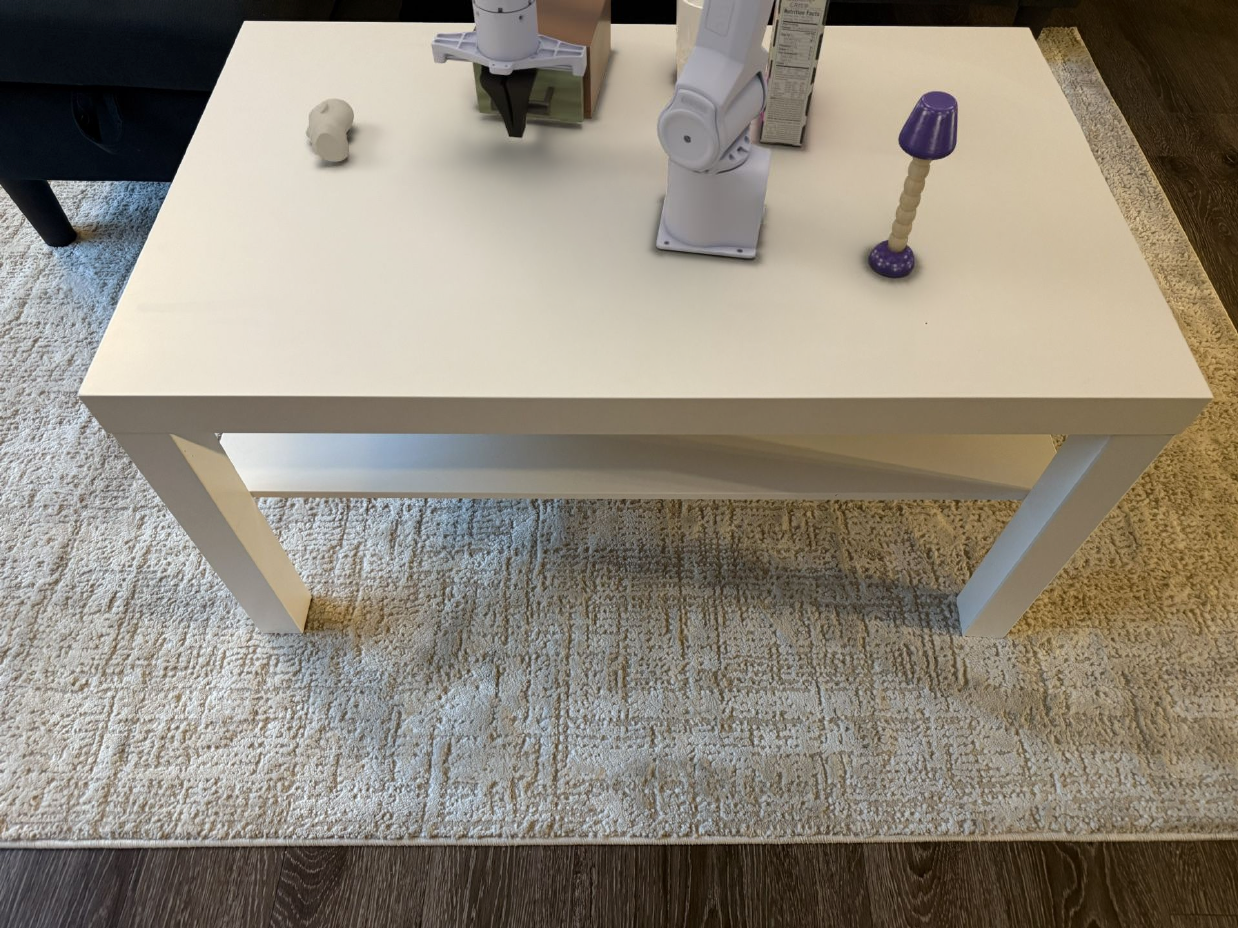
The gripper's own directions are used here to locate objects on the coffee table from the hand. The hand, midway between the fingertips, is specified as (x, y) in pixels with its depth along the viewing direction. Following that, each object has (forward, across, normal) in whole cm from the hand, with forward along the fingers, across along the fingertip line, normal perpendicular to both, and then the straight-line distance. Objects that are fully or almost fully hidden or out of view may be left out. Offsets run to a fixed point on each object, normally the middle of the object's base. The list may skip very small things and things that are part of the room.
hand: (517, 132), depth 89 cm
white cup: (+3, +18, +18) cm, 26 cm away
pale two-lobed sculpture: (+3, -20, -1) cm, 20 cm away
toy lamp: (+3, +38, -10) cm, 39 cm away
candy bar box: (+3, +27, +12) cm, 30 cm away
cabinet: (+3, 0, +15) cm, 15 cm away
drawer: (+2, 0, +10) cm, 10 cm away
